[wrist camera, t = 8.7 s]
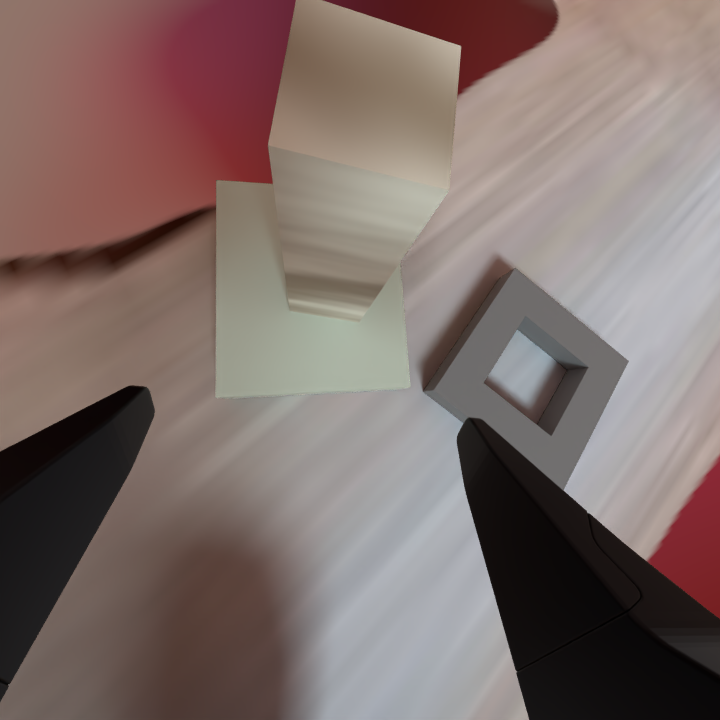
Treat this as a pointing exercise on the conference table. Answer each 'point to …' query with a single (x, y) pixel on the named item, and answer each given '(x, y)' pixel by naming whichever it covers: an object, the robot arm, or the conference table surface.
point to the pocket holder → (559, 340)
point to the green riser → (291, 316)
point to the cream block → (357, 152)
